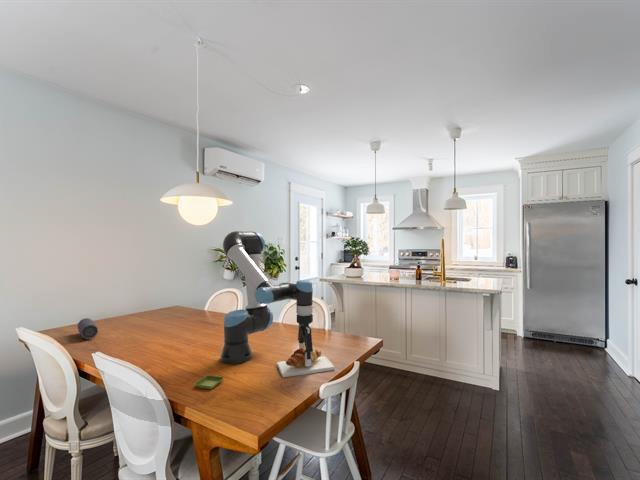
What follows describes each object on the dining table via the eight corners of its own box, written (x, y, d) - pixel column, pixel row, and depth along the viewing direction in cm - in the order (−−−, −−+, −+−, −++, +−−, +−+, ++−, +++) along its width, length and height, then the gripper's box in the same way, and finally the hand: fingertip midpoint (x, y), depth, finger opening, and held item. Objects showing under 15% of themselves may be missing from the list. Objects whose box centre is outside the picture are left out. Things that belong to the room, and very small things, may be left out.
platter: (282, 377, 137) (282, 373, 137) (277, 365, 151) (277, 362, 151) (334, 370, 144) (334, 366, 144) (325, 359, 158) (325, 356, 158)
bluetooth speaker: (76, 334, 205) (76, 318, 205) (94, 331, 211) (94, 316, 211) (79, 342, 188) (79, 325, 188) (99, 339, 194) (98, 322, 194)
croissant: (317, 361, 157) (311, 345, 159) (330, 356, 150) (324, 340, 153) (282, 373, 142) (277, 355, 145) (295, 368, 136) (290, 350, 138)
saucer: (212, 391, 126) (211, 386, 126) (193, 389, 128) (193, 383, 128) (224, 382, 134) (224, 377, 134) (206, 379, 137) (206, 374, 137)
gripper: (319, 319, 138) (320, 369, 138) (306, 308, 160) (306, 351, 160) (302, 320, 135) (303, 372, 135) (291, 309, 157) (291, 353, 157)
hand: (305, 361), depth 148 cm, fingers closed on croissant, 11 cm apart
